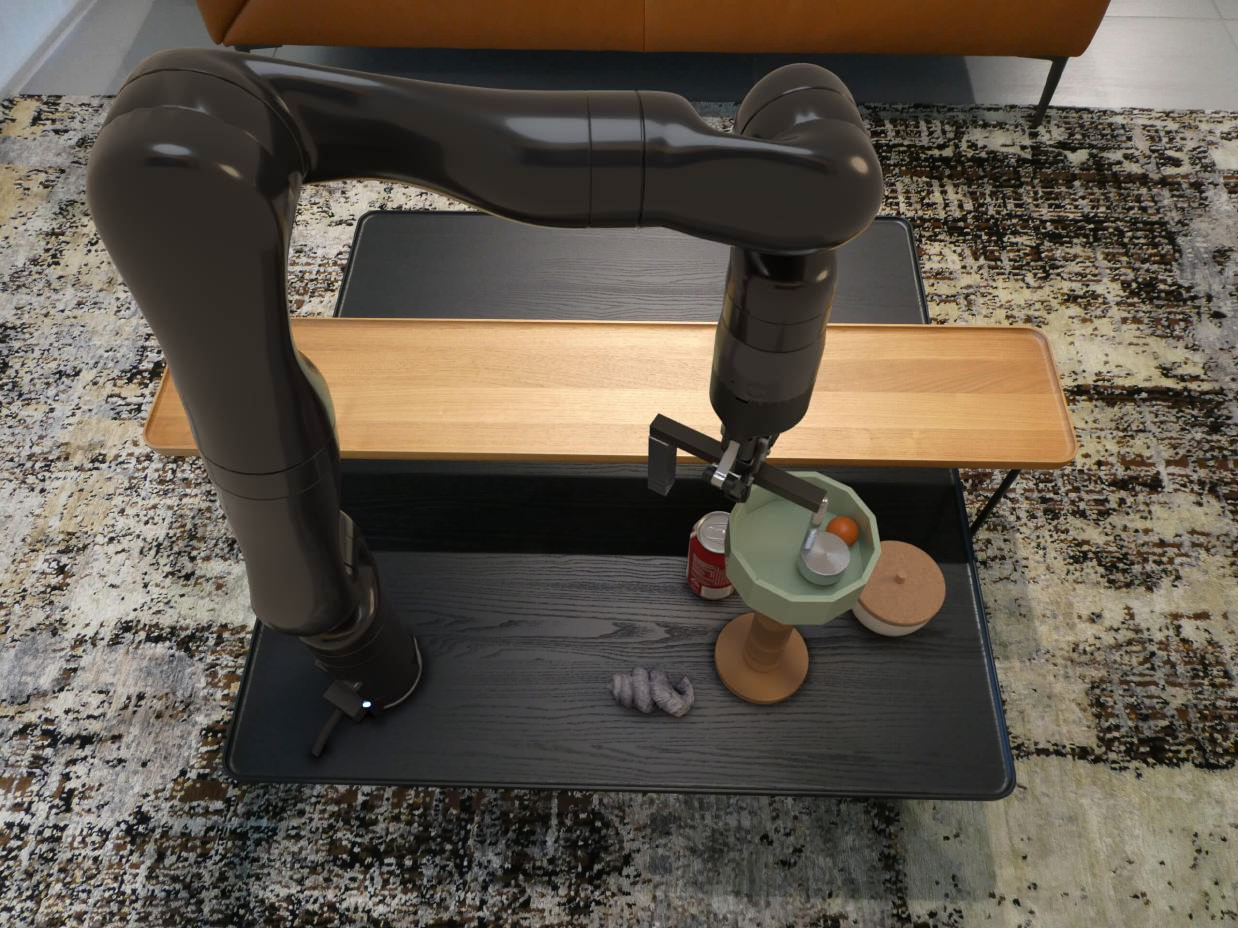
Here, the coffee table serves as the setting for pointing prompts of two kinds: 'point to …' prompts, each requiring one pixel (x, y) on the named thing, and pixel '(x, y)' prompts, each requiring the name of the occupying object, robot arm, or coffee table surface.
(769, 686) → the stand
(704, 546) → the soda can
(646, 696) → the seashell
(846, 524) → the ball
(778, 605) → the bowl
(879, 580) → the trinket box
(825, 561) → the ladle
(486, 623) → the coffee table surface
